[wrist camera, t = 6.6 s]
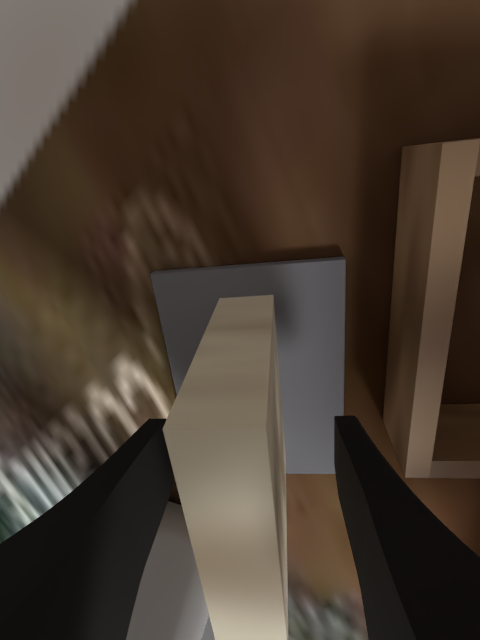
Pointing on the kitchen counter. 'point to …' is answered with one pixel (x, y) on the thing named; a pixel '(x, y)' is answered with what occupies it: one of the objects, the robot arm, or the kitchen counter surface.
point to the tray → (430, 312)
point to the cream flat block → (235, 470)
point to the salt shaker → (170, 586)
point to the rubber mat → (292, 340)
